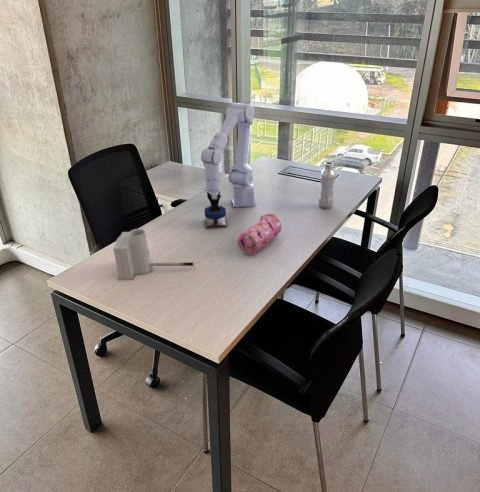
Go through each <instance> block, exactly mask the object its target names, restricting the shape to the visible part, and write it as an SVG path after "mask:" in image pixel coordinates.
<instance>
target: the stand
mask: <svg viewBox="0 0 480 492" xmlns="http://www.w3.org/2000/svg"><path fill="white" fill-rule="evenodd" d="M213 212H218V211H217V210H213ZM225 217H226V216H225ZM225 217H224V218H221V219H214V220H213V219H208V218H206V217H205V222H206V229H218V228H219V229H220V228H226V227H227V223H226V218H225Z"/></svg>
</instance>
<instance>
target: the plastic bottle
mask: <svg viewBox="0 0 480 492" xmlns="http://www.w3.org/2000/svg"><path fill="white" fill-rule="evenodd" d="M335 180H336V172H335V170H334V163H333V162H332V161H325V162H324V166H323V169H322V171H321V173H320V193H319V197H318V206H319V207H320V208H325V209H329V208H331V207H332V206H333V204H334V184H335Z"/></svg>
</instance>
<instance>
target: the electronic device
mask: <svg viewBox="0 0 480 492" xmlns="http://www.w3.org/2000/svg"><path fill="white" fill-rule="evenodd" d="M113 254H114V259H115V262H116V263H115V264H116V268H117V269H116V270H117V274H118V278H119V280H132V279H133V278H134V276H135V275H144V274H147V273H150V272H151V271H152V267H194V262H191V261H190V262H152V259H151V257H150V251H149V244H148V239H147V231H146V230H145V229H143V228H134V229H131V230H130V231H122V232H121V234H120V235H119V236H118V237H117V238H116V240H115V245H114V247H113Z"/></svg>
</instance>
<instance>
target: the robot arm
mask: <svg viewBox="0 0 480 492" xmlns="http://www.w3.org/2000/svg"><path fill="white" fill-rule="evenodd" d="M225 111H226V117H225V119H224V121H223V123H222V127H221V128H220V130H219V132H216V133H214V135H213V137H212V139H211V141H210V143H209V144H208V146H207V147H206V148H204V149H203V150H202V152H201V156H200V159H201V160H200V161H201V162H202V166H203V167H204V172H205V174H204V175H205V185H206V187H203V192H206V197H207V199H208V201H209V203H210V206H211V207H212V210H217V209H218V206H219V203H220V199H221V198H222V196H221V194H220V193H221V190H222V187H221V178H220V163H221V161H222V158H223V157H222V156H223V153H224V152H223V151H224V149H225V148H226V145H227V143H228V142H229V139H228V136H229V134H230V133H231V132H232V130H233V129H234V127H235V126H236V125H237V126H238V133H237V135H238V136H237V143H236V156H235V163H234V164H233V165H231V166H230V170H229V173H228V182H229V183H230V184H231V186H232V195H233V197H232V198H233V199H231V201H232V207H233V208H244V207H245V208H246V207H254V206H255V189H254V188H255V187H254V184H252V183H253V180H254V176H253V169H252V167H251V166H250V165H249V164H248V163H249V162H248V161H249V153H250V143H251V133H252V125H254V118H255V116H254V115H255V109H254V107H253V105H252V104H251V103H239V102H233V101H232V102H230V103H229V104H228V106H227V108H226V109H225Z"/></svg>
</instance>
